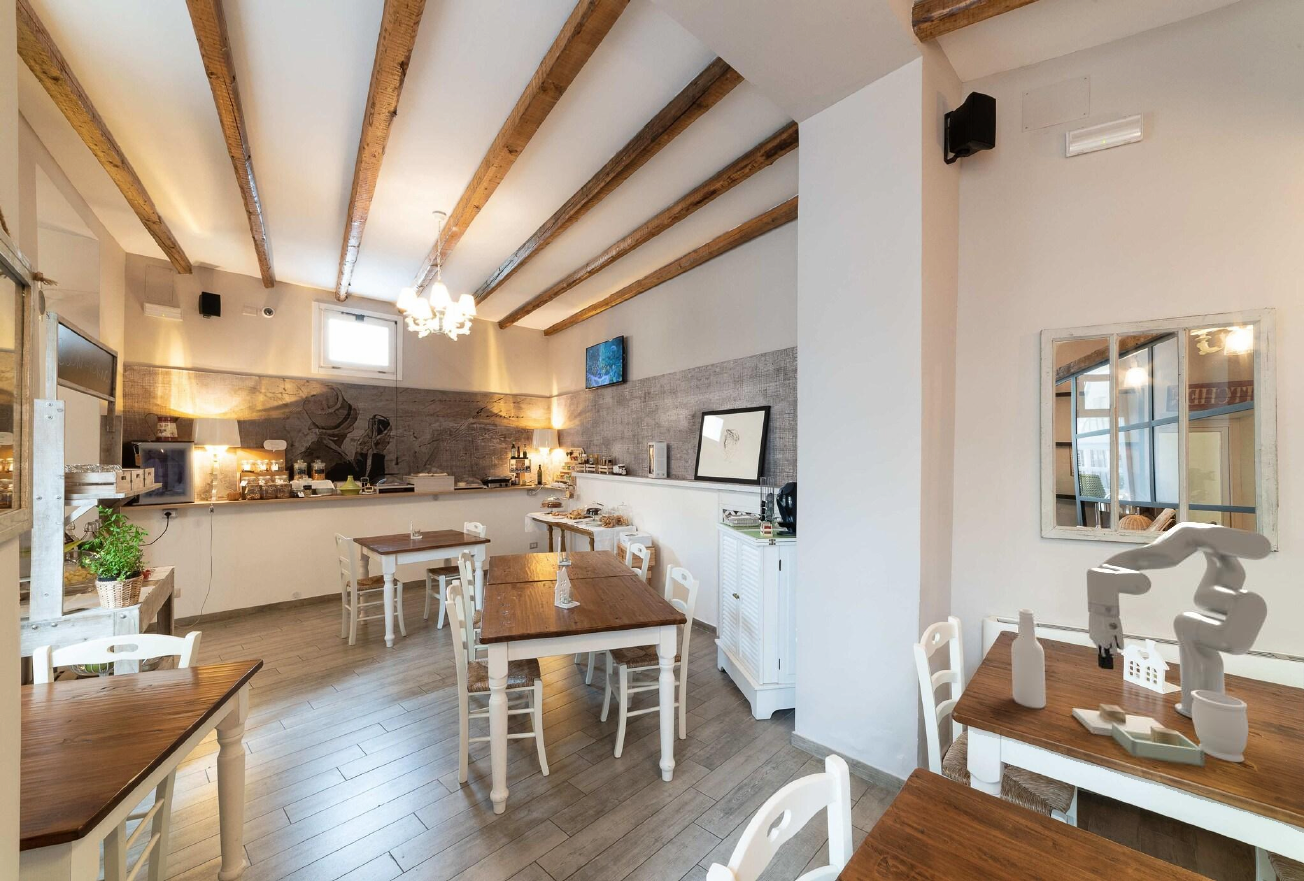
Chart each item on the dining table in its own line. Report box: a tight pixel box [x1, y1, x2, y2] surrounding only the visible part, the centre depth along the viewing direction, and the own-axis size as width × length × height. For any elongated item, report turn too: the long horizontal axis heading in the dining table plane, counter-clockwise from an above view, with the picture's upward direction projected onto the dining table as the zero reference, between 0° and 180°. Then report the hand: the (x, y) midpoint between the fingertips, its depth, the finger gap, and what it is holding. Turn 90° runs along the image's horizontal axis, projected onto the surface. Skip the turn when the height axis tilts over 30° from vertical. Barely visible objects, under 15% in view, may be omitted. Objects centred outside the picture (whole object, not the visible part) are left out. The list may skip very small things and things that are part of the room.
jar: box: [1191, 690, 1249, 763], centre depth 139 cm, size 11×10×15 cm
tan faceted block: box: [1150, 726, 1178, 746], centre depth 142 cm, size 4×4×3 cm
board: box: [1072, 707, 1166, 740], centre depth 152 cm, size 20×12×2 cm, turn 72°
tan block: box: [1098, 703, 1127, 723], centre depth 155 cm, size 4×4×3 cm
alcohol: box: [1010, 609, 1047, 709], centre depth 169 cm, size 9×9×30 cm
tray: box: [1111, 723, 1206, 767], centre depth 140 cm, size 15×10×4 cm
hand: (1105, 668), depth 160 cm, fingers closed
